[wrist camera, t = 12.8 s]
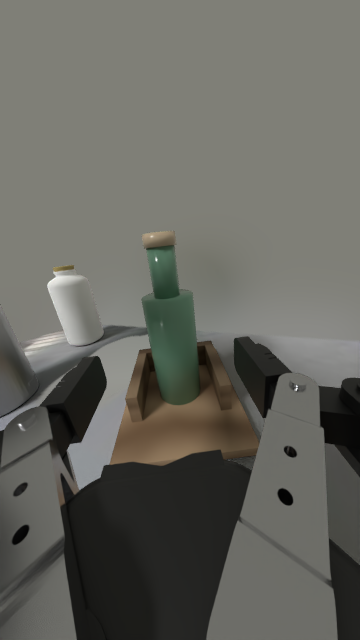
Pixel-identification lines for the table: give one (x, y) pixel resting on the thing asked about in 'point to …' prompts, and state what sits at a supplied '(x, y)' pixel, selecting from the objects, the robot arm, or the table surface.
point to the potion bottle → (75, 306)
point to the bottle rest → (182, 417)
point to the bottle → (170, 323)
